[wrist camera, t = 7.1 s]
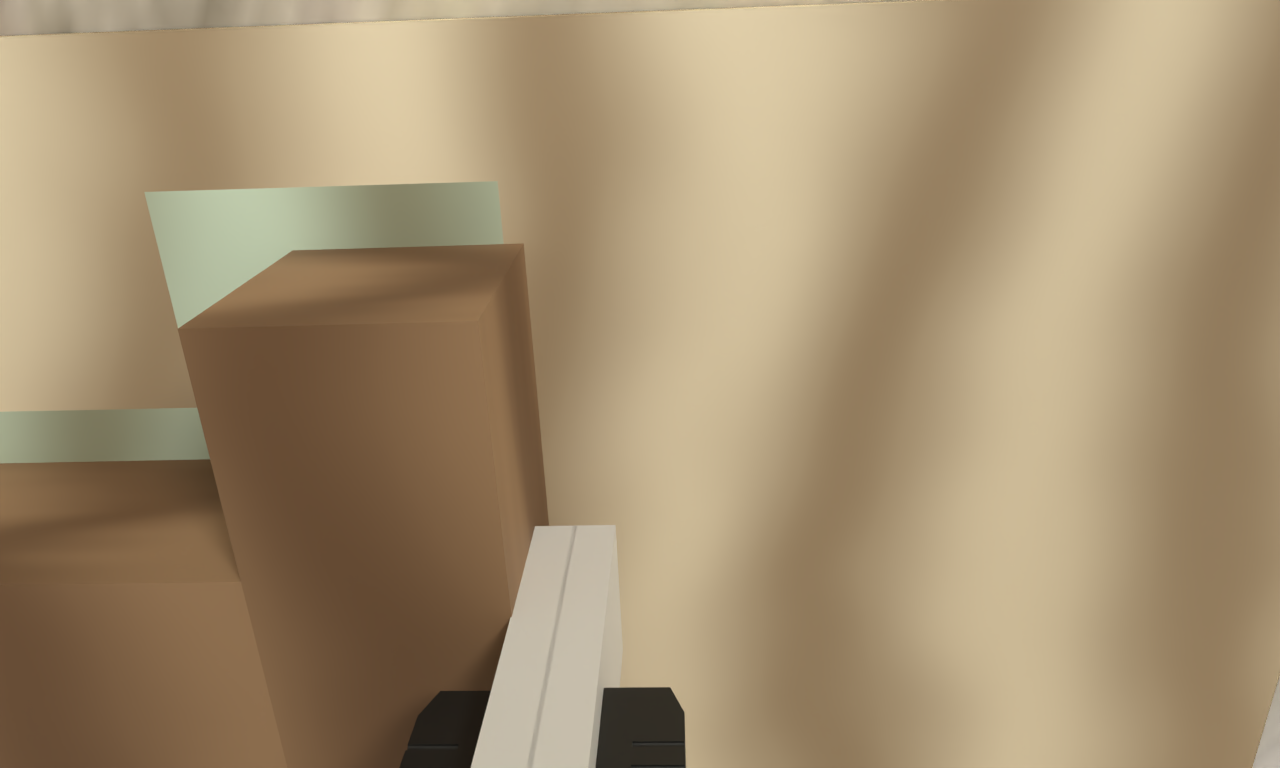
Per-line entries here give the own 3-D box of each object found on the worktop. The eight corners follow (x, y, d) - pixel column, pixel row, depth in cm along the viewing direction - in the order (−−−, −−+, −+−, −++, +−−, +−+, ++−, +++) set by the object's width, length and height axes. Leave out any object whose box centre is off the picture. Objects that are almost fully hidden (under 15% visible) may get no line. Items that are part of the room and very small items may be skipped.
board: (1426, -20, 15) (1487, -20, 14) (1190, 840, 22) (1216, 885, 21) (-359, 49, 16) (-436, 54, 15) (-15, 839, 23) (-49, 882, 22)
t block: (523, 243, 16) (478, 321, 12) (571, 774, 20) (548, 947, 17) (-154, 263, 16) (-399, 343, 12) (45, 776, 21) (-89, 944, 17)
